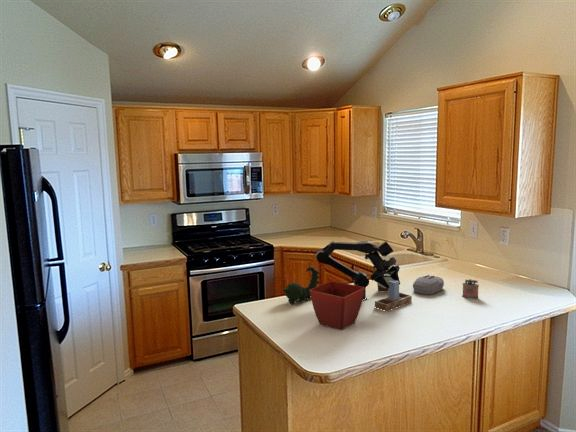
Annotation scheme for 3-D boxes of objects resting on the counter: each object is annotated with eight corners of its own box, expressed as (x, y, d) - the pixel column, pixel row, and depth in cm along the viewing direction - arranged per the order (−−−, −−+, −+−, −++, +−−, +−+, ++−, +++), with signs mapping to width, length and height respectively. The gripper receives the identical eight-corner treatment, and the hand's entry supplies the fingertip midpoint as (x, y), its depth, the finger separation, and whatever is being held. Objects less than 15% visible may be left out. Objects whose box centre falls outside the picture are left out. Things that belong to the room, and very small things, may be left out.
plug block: (394, 305, 217) (394, 282, 215) (387, 303, 220) (388, 281, 218) (398, 303, 219) (399, 281, 217) (392, 301, 222) (392, 279, 220)
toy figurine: (310, 296, 240) (276, 303, 224) (311, 264, 239) (278, 268, 222) (321, 300, 233) (288, 307, 217) (323, 267, 232) (289, 271, 215)
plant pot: (331, 312, 211) (331, 280, 208) (365, 321, 199) (365, 286, 196) (309, 324, 196) (308, 289, 194) (344, 334, 184) (343, 297, 182)
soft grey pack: (423, 284, 254) (407, 292, 240) (423, 270, 253) (407, 278, 239) (447, 289, 244) (432, 297, 229) (448, 275, 243) (433, 283, 228)
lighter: (461, 297, 229) (462, 279, 227) (462, 295, 232) (463, 278, 230) (478, 299, 225) (478, 281, 224) (478, 297, 228) (479, 279, 227)
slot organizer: (386, 311, 210) (386, 305, 209) (374, 307, 216) (374, 301, 215) (411, 302, 223) (411, 295, 223) (399, 298, 229) (399, 292, 229)
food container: (395, 288, 246) (395, 272, 245) (397, 291, 240) (397, 275, 239) (374, 288, 248) (374, 271, 246) (375, 291, 241) (375, 274, 240)
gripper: (374, 255, 214) (392, 281, 207) (397, 250, 225) (414, 274, 218) (362, 267, 221) (379, 293, 214) (385, 261, 232) (401, 285, 225)
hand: (394, 286), depth 218 cm, fingers open, 9 cm apart
